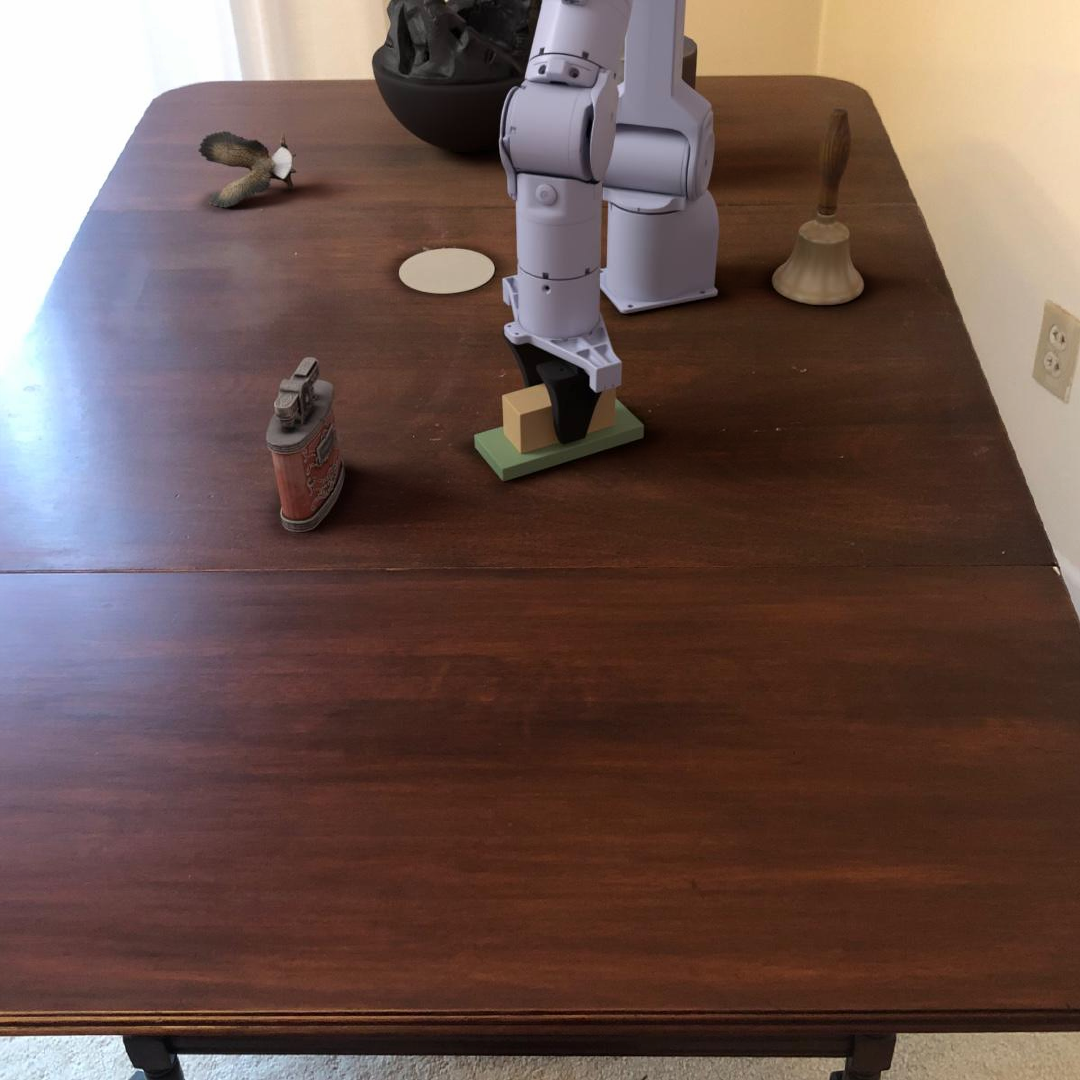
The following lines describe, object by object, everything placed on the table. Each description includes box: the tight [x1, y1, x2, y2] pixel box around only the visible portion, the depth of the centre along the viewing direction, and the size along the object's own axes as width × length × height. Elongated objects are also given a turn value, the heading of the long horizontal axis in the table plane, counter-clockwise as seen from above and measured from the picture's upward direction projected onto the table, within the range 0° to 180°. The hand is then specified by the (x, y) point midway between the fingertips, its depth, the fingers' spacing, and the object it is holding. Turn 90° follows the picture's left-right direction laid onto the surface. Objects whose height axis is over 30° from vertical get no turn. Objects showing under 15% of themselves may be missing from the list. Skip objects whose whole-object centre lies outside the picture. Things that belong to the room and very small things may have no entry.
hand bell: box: [771, 108, 865, 306], centre depth 107 cm, size 8×8×16 cm
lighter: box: [265, 356, 346, 533], centre depth 85 cm, size 8×3×10 cm, turn 168°
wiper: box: [473, 383, 645, 482], centre depth 92 cm, size 5×12×5 cm, turn 117°
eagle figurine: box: [198, 130, 297, 208], centre depth 127 cm, size 8×7×9 cm
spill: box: [398, 247, 496, 295], centre depth 115 cm, size 9×9×1 cm
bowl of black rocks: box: [371, 0, 543, 153], centre depth 132 cm, size 20×20×19 cm
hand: (559, 425), depth 92 cm, fingers open, 3 cm apart
